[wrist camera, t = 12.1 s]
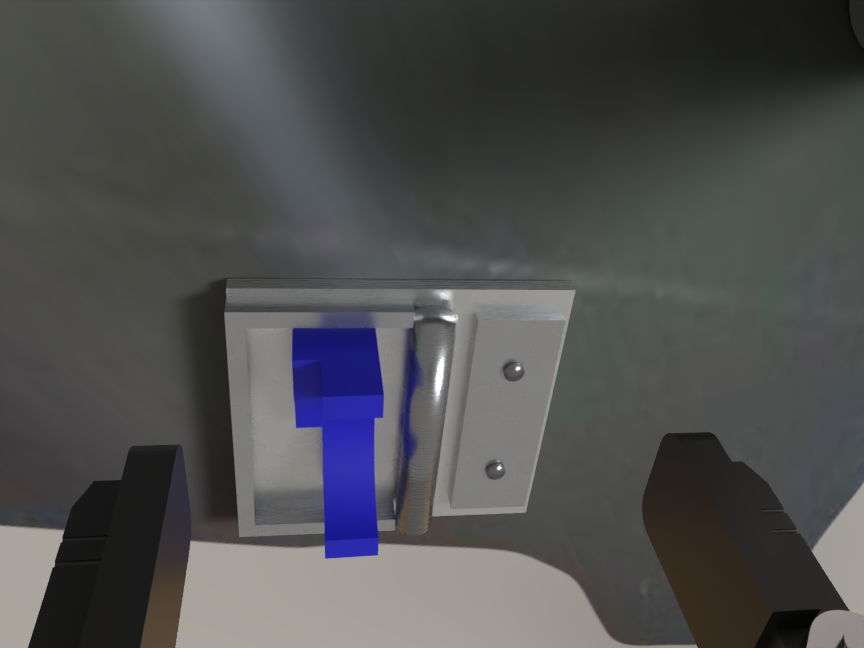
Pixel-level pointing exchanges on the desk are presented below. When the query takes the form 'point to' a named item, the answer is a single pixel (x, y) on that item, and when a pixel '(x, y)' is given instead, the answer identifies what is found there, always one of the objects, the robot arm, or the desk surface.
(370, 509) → the blue stepped long block
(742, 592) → the robot arm
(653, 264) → the desk surface
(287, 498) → the hinge plate
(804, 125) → the desk surface
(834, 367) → the desk surface
